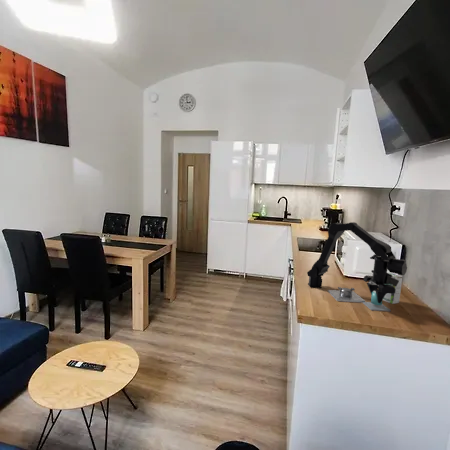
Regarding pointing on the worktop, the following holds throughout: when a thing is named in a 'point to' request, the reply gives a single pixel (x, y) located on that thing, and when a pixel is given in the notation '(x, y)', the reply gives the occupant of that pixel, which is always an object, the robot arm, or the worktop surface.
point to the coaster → (376, 307)
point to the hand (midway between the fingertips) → (376, 301)
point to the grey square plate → (346, 295)
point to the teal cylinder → (374, 299)
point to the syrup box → (395, 297)
